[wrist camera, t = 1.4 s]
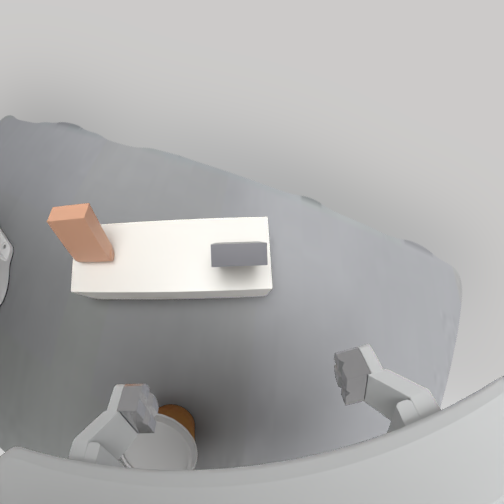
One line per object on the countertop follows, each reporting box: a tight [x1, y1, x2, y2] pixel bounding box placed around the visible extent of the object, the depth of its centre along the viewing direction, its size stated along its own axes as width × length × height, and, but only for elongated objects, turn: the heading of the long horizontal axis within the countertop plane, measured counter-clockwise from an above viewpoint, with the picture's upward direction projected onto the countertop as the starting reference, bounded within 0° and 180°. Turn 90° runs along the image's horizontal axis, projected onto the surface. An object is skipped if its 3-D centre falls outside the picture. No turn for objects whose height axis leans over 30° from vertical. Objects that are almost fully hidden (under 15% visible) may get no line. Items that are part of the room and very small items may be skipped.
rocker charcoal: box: [211, 241, 268, 267], centre depth 31 cm, size 2×5×9 cm, turn 93°
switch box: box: [71, 217, 272, 299], centre depth 39 cm, size 9×26×8 cm, turn 93°
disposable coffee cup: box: [121, 404, 198, 470], centre depth 31 cm, size 10×10×12 cm
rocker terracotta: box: [47, 203, 114, 262], centre depth 30 cm, size 2×5×9 cm, turn 93°
